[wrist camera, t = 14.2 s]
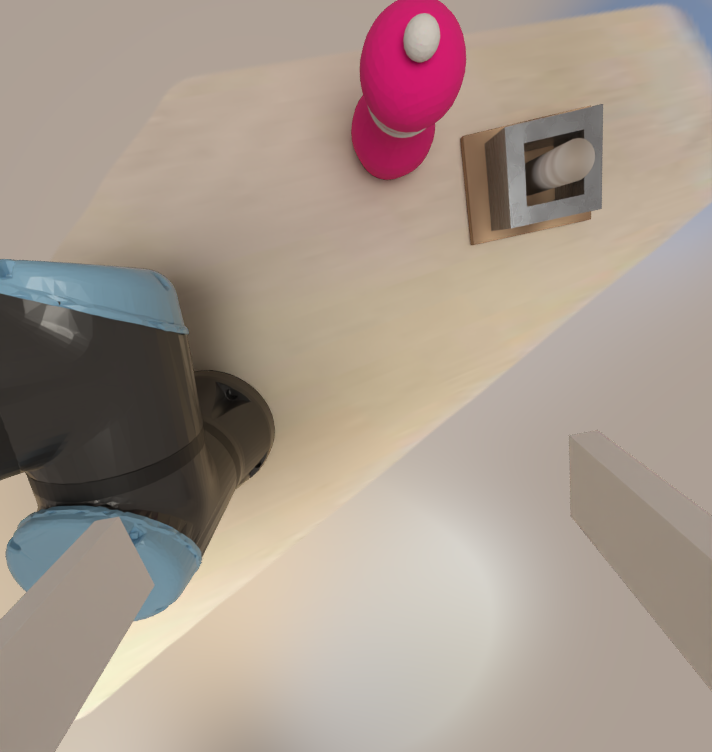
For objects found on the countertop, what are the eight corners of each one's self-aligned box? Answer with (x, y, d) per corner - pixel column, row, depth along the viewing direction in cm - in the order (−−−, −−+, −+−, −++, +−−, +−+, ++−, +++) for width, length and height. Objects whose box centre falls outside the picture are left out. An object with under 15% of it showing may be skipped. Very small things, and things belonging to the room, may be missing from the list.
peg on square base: (470, 244, 39) (503, 243, 30) (460, 139, 36) (493, 104, 27) (585, 219, 38) (650, 211, 30) (584, 109, 35) (658, 64, 26)
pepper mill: (406, 85, 34) (469, -117, 15) (436, 162, 36) (523, 69, 18) (339, 125, 35) (320, -16, 16) (371, 198, 37) (387, 147, 19)
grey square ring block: (491, 231, 38) (510, 228, 33) (484, 143, 35) (504, 127, 30) (570, 213, 37) (601, 208, 32) (569, 123, 34) (603, 103, 30)
